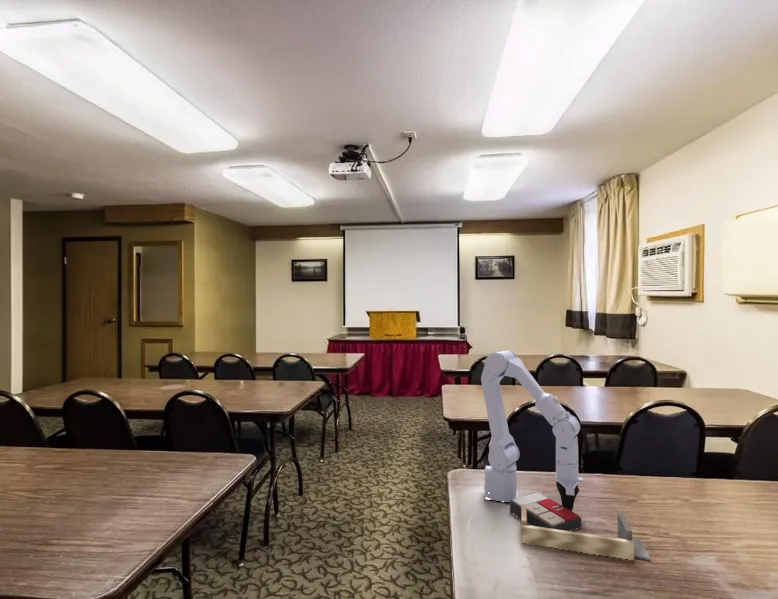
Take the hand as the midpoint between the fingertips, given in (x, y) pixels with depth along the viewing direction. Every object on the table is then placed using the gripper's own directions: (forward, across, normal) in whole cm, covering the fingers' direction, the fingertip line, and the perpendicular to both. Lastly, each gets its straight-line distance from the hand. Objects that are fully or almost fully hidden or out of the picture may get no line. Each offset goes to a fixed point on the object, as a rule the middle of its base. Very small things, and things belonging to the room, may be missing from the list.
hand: (567, 510), depth 116 cm
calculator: (+2, -4, +6) cm, 8 cm away
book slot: (+1, -13, -2) cm, 13 cm away
